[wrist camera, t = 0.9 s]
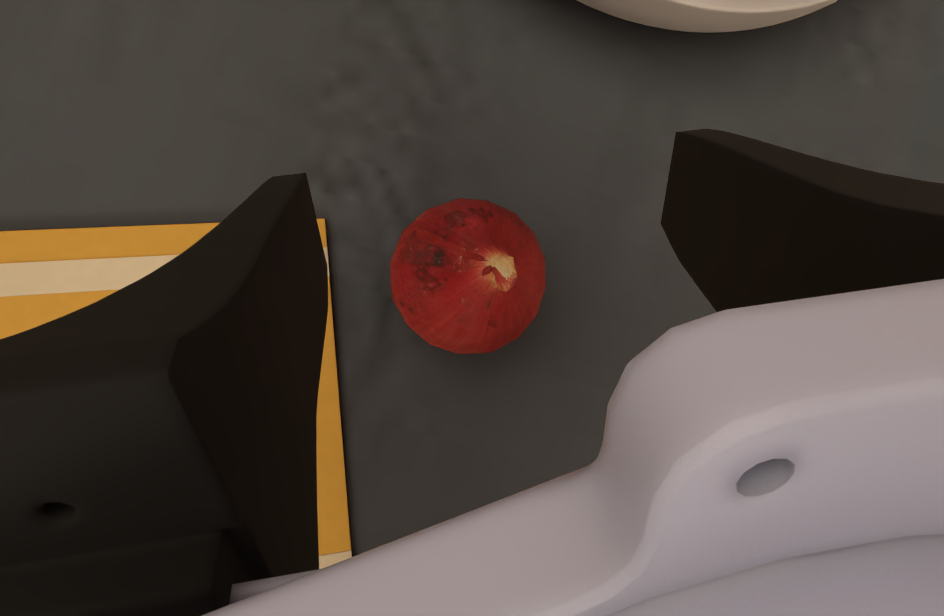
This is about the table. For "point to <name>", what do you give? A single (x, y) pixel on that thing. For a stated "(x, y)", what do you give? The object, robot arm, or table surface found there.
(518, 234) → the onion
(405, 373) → the table surface
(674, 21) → the bowl
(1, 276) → the towel
